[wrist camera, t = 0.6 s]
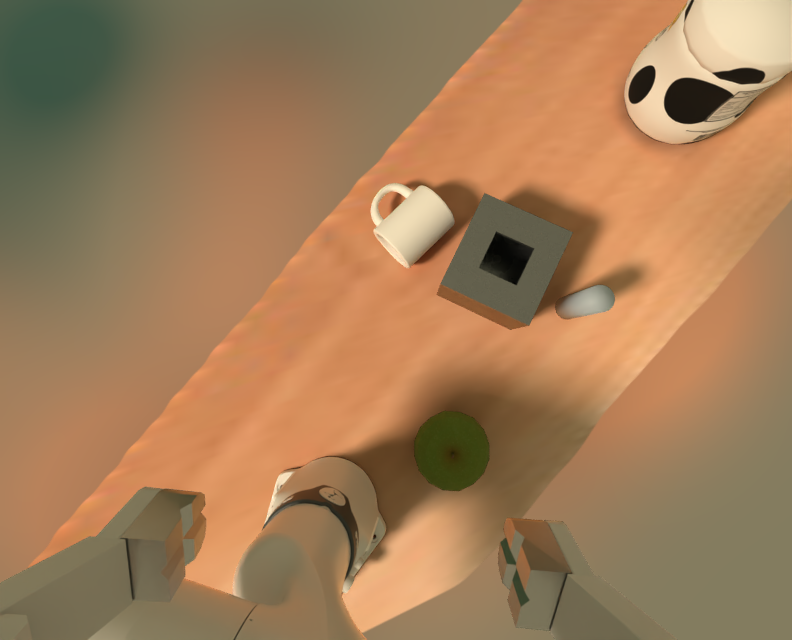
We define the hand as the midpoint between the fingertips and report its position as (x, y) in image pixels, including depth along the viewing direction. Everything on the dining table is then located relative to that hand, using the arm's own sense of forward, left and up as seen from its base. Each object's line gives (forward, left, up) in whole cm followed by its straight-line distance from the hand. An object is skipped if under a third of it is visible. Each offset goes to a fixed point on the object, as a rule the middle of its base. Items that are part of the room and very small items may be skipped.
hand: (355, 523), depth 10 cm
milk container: (+59, -19, -51) cm, 80 cm away
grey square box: (+21, -5, -50) cm, 55 cm away
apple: (-6, -10, -51) cm, 52 cm away
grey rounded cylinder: (+21, -18, -50) cm, 58 cm away
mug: (+22, +11, -51) cm, 57 cm away
